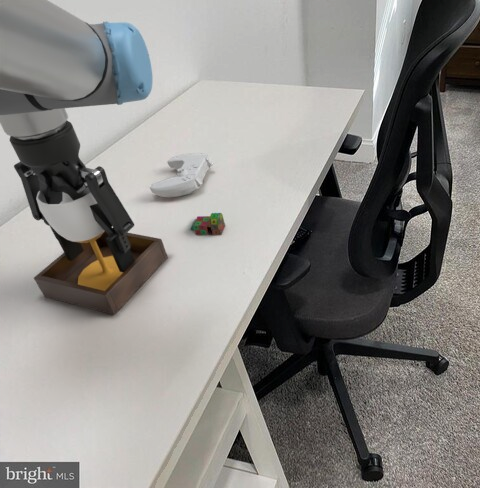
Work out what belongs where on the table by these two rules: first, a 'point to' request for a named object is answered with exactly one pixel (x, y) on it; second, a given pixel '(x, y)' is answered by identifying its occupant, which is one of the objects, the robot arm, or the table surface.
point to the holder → (119, 292)
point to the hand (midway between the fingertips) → (101, 260)
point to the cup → (81, 235)
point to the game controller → (183, 175)
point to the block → (209, 224)
